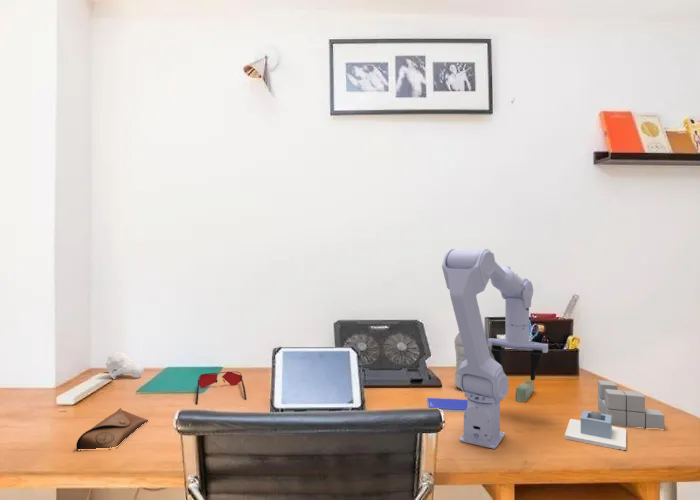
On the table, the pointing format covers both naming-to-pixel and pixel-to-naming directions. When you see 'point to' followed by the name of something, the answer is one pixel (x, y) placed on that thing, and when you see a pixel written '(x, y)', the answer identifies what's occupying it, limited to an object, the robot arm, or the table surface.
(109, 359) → the white lumpy piece
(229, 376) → the glasses
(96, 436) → the sunglasses case
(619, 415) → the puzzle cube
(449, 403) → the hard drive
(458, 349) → the plastic bottle
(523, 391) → the medication box
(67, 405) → the table surface
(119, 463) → the table surface
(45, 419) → the table surface
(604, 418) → the grey square ring
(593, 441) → the post plate
